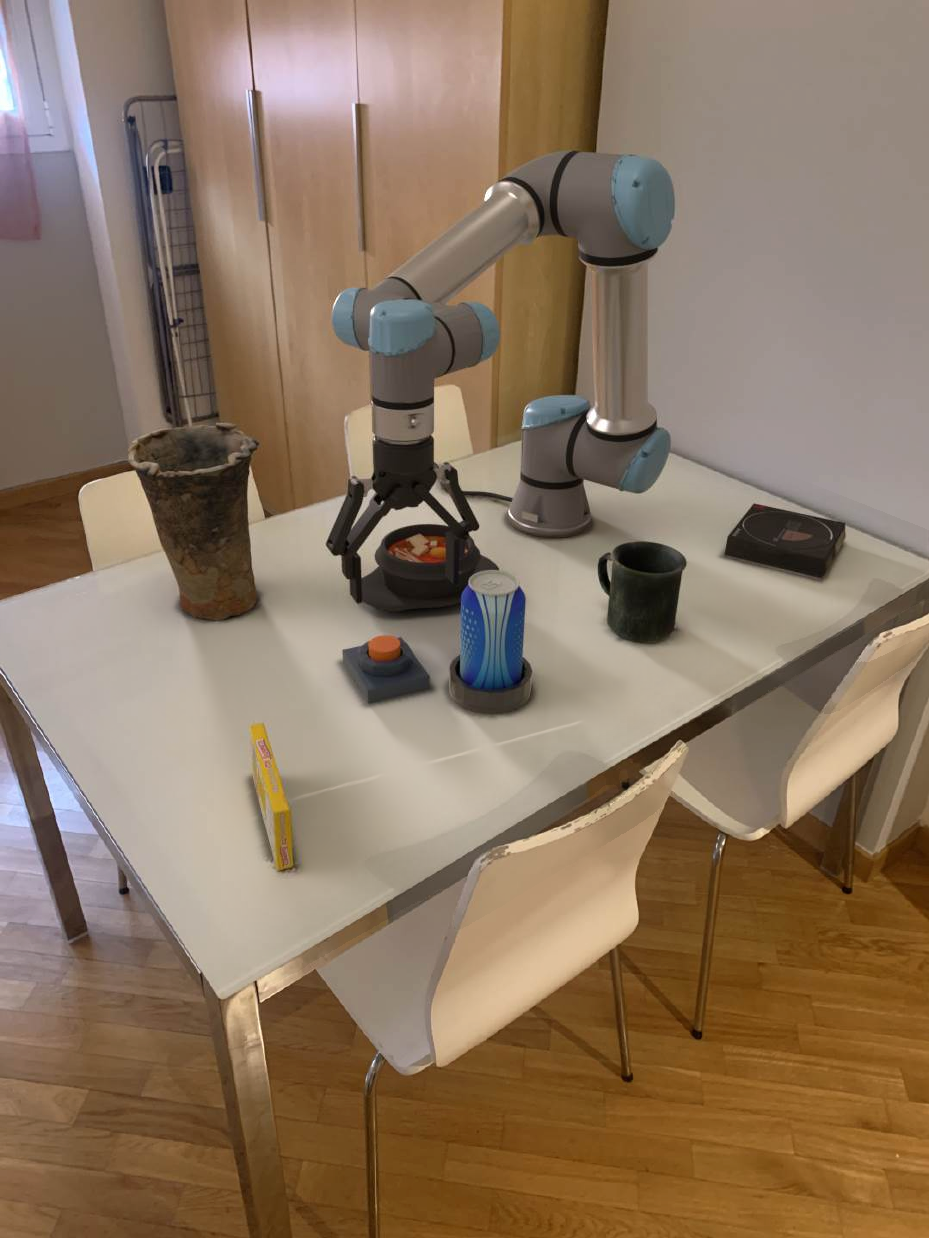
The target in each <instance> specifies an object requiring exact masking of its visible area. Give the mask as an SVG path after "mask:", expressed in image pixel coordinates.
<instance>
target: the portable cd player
mask: <svg viewBox="0 0 929 1238" xmlns="http://www.w3.org/2000/svg"><path fill="white" fill-rule="evenodd" d="M846 535H847V531H846V522H843V521H837V520H833V519H829V518H823V517H820V516H815V515H810V514H804V513H801V512H797V511H792V510H787V509H782V508H778V507H773V506H770V505H769V506H768V505H764V504H759V503H755V502H754V503H753V504H752V505H751V506H750V507H749V509H748V510H747V511H746V512H745V514H744V515H743V516H742V518H741V519H740V520H739V521H738V523H737V524H736V525H735V526H734V528H733V529H732V530H731V531H730V533H729V534H728V535H727V538H726V545H725V549H724V554H723V555H724V558H727V559H732V560H735V561H740V562H743V563H747V564H751V565H752V564H753V565H757V566H759V567H765V568H768V569H774V570H776V571H781V572H785V573H788V574H794V575H798V576H802V577H806V578H810V579H813V580H819V581H821V580H822V579H823V578H824V577H825V575H826V574H827V572H828V571H829V569H830V568H831V565H832V563H833V562H834V560H835V558H836V556H837V554H838V552H839V550H840V549H841V547H842V545H843V543H844V542H845V540H846V538H847V536H846Z"/></svg>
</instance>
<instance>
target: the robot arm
mask: <svg viewBox="0 0 929 1238" xmlns="http://www.w3.org/2000/svg"><path fill="white" fill-rule="evenodd" d="M675 211H676V196H675V187H674V183H673V181H672V178H671V176H670V173H669V171H668V169H666V167H664V166H663V164H662V163H661V162H660V161H658V160H657V159H655V158H650V157H643V156H639V155H637V154H631V153H628V154H623V153H622V154H620V153H607V152H605V153H604V152H590V151H579V150H573V149H572V150H570V149H567V150H560V151H554V152H550V153H546V154H545V155H542V156H538V157H537V158H534V159H533V160H530V161H528V162H526V163H524V164H522V165H521V166H518V167H516V168H515V169H514V170H512V171H510V172H508V173H507V174H506V175H505V176H503V177H502V178H500V179H499V180H497V181H496V182H495V183H493V184H492V185H491V186H490V187H489V189H488V190H487V191H486V194H485V197H484V201H482V203H479V205H477V206H476V207H475V208H474V209H472V210H471V211H470V212H468V213H466V215H464V216H463V217H462V218H461V219H460V220H458V221H457V222H456V223H454V224H452V225H451V226H450V227H449V228H448V229H446V230H445V231H444V232H443V233H441V234H440V235H438V237H436V238H435V239H434V240H432V241H431V242H430V243H429V244H427V245H426V246H425V247H424V248H422V249H421V250H420V251H418V252H417V253H416V254H415V255H413V256H412V257H411V258H410V259H408V260H407V261H405V263H402V265H401V266H400V267H398V268H397V269H396V270H394V271H393V272H392V273H390V274H389V275H388V276H387V277H385V278H384V279H383V280H382V281H380V282H378V284H376V285H375V286H374V287H372V288H370V289H367V287H364V286H361V287H349V288H346V289H344V290H343V291H341V292H340V293H339V295H338V296H337V297H336V300H335V301H334V303H333V306H332V311H331V324H332V328H333V331H334V334H335V336H336V337H337V339H339V341H340V342H341V343H343V344H345V345H347V346H350V347H354V348H357V349H358V350H361V351H364V352H369V366H370V367H369V368H370V386H371V387H370V388H371V390H370V391H371V394H370V395H371V396H370V397H371V432H372V434H373V435H374V436H373V437H372V441H371V442H372V443H371V444H372V468H373V471H372V475H371V477H370V478H358V477H357V476H356V475H352V476H349V478H348V479H347V481H348V482H347V494H346V495H345V498H344V500H343V503H342V505H341V507H340V509H339V512H338V514H337V515H336V516H337V517H336V519H335V521H334V523H333V526H332V528H331V530H330V533H329V536H328V537H327V539H326V542H325V547H326V548H327V550H328V551H329V552H330V554H331V555H332V556H334V557H337V556H340V558H341V560H340V561H341V572H342V575H343V576H344V577H345V579H346V580H349V595H350V596H351V598H352V599H353V601H354V602H355V603H356V605H358V604H362V603H363V601H362V578H363V577H362V557H361V556H360V554H359V553H358V551H359V550H360V549H361V547H362V546H363V545H364V543H365V542H366V541H367V539H368V537H369V536H370V535H371V533H373V531H374V529H375V528H376V527H377V525H378V524H379V523H380V521H381V520H382V519H383V518H384V517H386V516H387V515H388V514H389V513H390V511H391V510H392V509H393V510H394V511H401V510H403V509H405V508H419V505H420V504H421V505H422V503H423V502H424V503H425V504H426V505H427V506H428V507H429V509H431V510H432V511H433V512H434V513H435V514H436V515H437V516H438V517H439V518H440V519H441V520H442V521H443V522H444V524H446V526H449V527H450V528H451V529H452V530H453V533H452V532H446V562H445V576H446V577H447V578H448V579H449V580H450V581H451V582H452V583H453V585H454V584H459V558H464V555H465V540H467V539H468V538H469V535H470V533H471V532H472V531H473V532H477V531H478V530H479V529H480V523H479V522H478V519H477V517H476V516H475V515H476V514H474V511H473V509H472V507H471V505H470V503H469V502H468V499H467V498H466V496H468V497H486V498H493V499H496V500H500V501H504V502H509V503H510V504H509V508H508V522H509V524H510V525H511V526H512V527H513V528H515V529H516V530H518V531H520V532H521V533H525V534H527V535H532V536H535V537H543V538H563V537H564V538H565V537H571V536H575V535H578V534H581V533H582V532H584V531H585V530H587V529H588V528H589V527H590V525H591V516H592V512H591V507H590V503H589V500H588V496H587V491H586V489H585V483H584V481H588V482H591V483H595V484H598V485H601V486H605V487H609V488H613V489H616V490H618V491H619V492H626V493H631V494H643V493H645V492H648V491H649V490H650V489H651V488H652V487H653V486H654V485H655V483H656V482H657V481H658V480H659V478H660V476H661V474H662V472H663V471H664V468H665V466H666V463H667V461H668V458H669V454H670V450H671V443H672V437H671V433H670V432H669V431H668V430H667V429H665V428H664V427H658V413H657V410H656V408H655V406H654V405H652V404H651V403H650V402H649V401H648V400H649V398H648V397H649V394H648V393H649V388H648V387H649V375H648V374H649V373H648V372H649V370H648V368H649V366H648V365H649V364H648V363H649V361H648V359H649V357H648V356H649V355H648V353H649V352H648V351H649V350H648V349H649V348H648V346H649V341H648V339H649V334H648V333H649V331H648V329H649V328H648V327H649V324H648V323H649V322H648V321H649V319H648V316H649V315H648V313H649V312H648V309H649V308H648V307H649V304H648V303H649V302H648V301H649V300H648V298H649V294H648V289H649V287H648V283H649V282H648V280H649V278H648V277H649V275H648V274H649V273H648V268H649V267H648V266H649V265H648V264H649V263H650V262H651V261H652V260H653V259H654V258H655V257H656V256H657V255H658V252H659V247H661V246H662V245H663V244H664V243H665V242H666V240H667V239H668V237H669V235H670V233H671V230H672V228H673V225H672V220H674V219H675ZM544 236H560V237H564V238H570V239H571V238H572V239H576V240H577V243H578V244H577V246H578V258H579V260H580V262H581V263H583V264H584V265H585V266H586V267H587V268H589V284H590V285H589V287H590V311H591V312H590V314H591V315H590V316H591V335H592V336H591V337H592V338H591V339H592V358H593V359H592V363H593V387H594V388H593V389H594V390H593V391H594V405H593V406H592V405H591V401H590V400H589V399H588V398H586V397H584V396H580V395H575V394H560V395H559V394H557V395H549V396H544V397H540V398H537V399H534V400H532V401H530V402H528V403H527V404H526V406H525V408H524V410H523V417H522V423H521V427H520V428H521V443H520V444H521V445H520V448H521V449H520V472H519V473H520V475H519V482H518V484H517V486H516V490H515V492H514V494H513V497H511V496H506V495H502V494H500V493H499V494H498V493H495V492H489V491H476V490H462V488H461V485H460V484H459V471H458V470H457V469H456V468H455V467H454V466H453V465H452V464H450V463H449V462H443V463H442V464H441V466H439V465H438V464H437V463H436V462H435V438H434V437H433V433H434V431H435V379H438V378H441V377H443V376H446V375H449V374H452V373H455V372H458V371H461V370H465V369H467V368H469V369H470V368H474V367H476V366H478V365H479V364H480V363H483V362H484V361H487V360H488V359H490V358H492V357H493V355H494V354H495V353H496V351H497V350H498V347H499V345H500V338H501V328H500V325H499V321H498V318H497V317H496V315H495V313H494V311H492V309H490V307H488V306H487V305H486V304H483V303H481V302H479V301H478V302H477V301H470V302H465V301H463V302H459V303H457V304H455V305H451V304H450V305H449V304H448V303H449V302H450V301H451V300H452V299H454V298H455V297H456V296H457V295H458V294H460V293H461V292H462V291H464V290H465V288H467V287H468V286H469V285H470V284H472V283H473V282H474V281H475V280H477V279H478V278H479V277H480V276H482V275H483V274H484V273H485V272H486V271H487V270H488V269H490V268H491V267H492V266H493V265H494V264H496V263H497V262H498V261H499V260H500V259H501V258H503V257H504V256H506V254H508V253H509V252H510V251H511V250H513V248H515V247H525V246H528V245H529V244H531V243H532V242H534V240H535V239H537V238H539V237H544ZM436 466H437V467H436ZM437 480H438V481H439V484H440V487H441V488H442V489H443V490H444V491H445V492H447V493H448V495H449V496H450V498H451V500H452V502H453V504H454V506H455V508H456V510H457V512H458V514H459V515H460V516H459V517H460V518H461V521H458V520H457V519H456V518H455V517H454V516H453V515H452V514H451V513H450V512H449V511H448V510H447V509H446V508H445V507H444V506H443V504H441V503H440V502H439V500H438V499H436V498H435V496H434V495H433V494H432V493H431V490H432V488H433V487H434V485H435V484H436V482H437ZM371 490H373V491H374V492H375V493H374V494H373V495H372V497H371V498H370V500H369V502H368V505H367V507H366V508H365V510H364V511H363V512H362V514H361V515H360V517H359V518H358V519H357V517H358V515H359V512H360V509H361V508H362V505H363V502H364V498H366V497H367V496H368V494H369V492H370V491H371ZM356 519H357V520H356ZM355 521H356V522H355Z"/></svg>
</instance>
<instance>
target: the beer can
mask: <svg viewBox="0 0 929 1238" xmlns="http://www.w3.org/2000/svg"><path fill="white" fill-rule="evenodd" d="M526 601H527V599H526V594H525V592H524V590H523V589H522V587H521V586H520V580H519V578H518V577H517V576H516V575H514V574H513V573H511V572H508V571H505V570H500V569H499V570H486V571H481V572H478V573H475V574H474V575H472V576H471V577H470V579H469V584H468V585H467V587H466V588H465V589H464V591H463V593H462V596H461V603H460V648H459V650H460V652H459V654H460V678H461V681H463V682H464V683H466V684H468V685H470V686H473V687H476V688H479V689H487V690H496V689H504V688H508V687H512V686H514V685H516V684H518V683H520V681H521V678H522V659H523V657H524V655H523V654H524V638H525V618H526V604H527V603H526Z"/></svg>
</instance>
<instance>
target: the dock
mask: <svg viewBox="0 0 929 1238" xmlns="http://www.w3.org/2000/svg"><path fill="white" fill-rule="evenodd" d="M532 683H533V669H532V666H531V663H530V662H529V661H528V660H527V659H526V658H525V657H524V656H523V659H522V678H521V681H520V683H518V684H516V685H514V686H512V687H508V688H504V689H496V690H487V689H479V688H476V687H473V686H470V685H468V684H466V683H464V682H463V681H461V678H460V653H459V654H458V655H456V656H455V658H453V659H452V661H451V663H450V665H449V667H448V684H449V687H448V689H449V695H450V698H451V699H452V700H453V701H454V703H456V704H457V705H458V706H460V707H461V708H463V709H464V710H467V711H470V712H473V713H477V714H484V715H498V714H499V715H501V714H506V713H509V712H513V711H516V710H518V709H519V708H521V707H523V706H524V705H525V704H526V703H527V702H528V701H529V699H530V697H531V693H532V692H531V691H532Z"/></svg>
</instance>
